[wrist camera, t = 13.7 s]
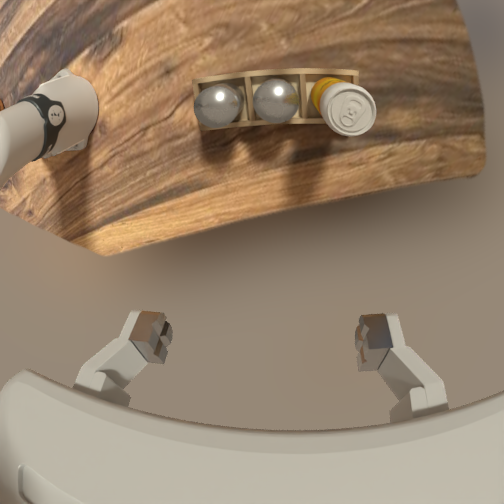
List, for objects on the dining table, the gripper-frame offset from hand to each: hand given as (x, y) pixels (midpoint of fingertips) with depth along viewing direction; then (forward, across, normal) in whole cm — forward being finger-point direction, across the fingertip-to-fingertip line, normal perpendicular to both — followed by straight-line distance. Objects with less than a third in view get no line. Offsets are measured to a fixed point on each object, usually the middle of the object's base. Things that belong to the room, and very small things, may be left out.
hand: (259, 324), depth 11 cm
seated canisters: (+37, +4, -4) cm, 38 cm away
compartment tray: (+39, 0, -4) cm, 39 cm away
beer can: (+37, -8, -4) cm, 38 cm away
